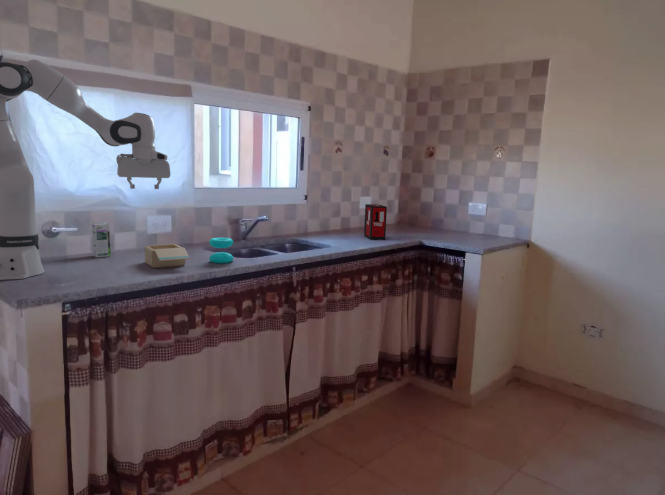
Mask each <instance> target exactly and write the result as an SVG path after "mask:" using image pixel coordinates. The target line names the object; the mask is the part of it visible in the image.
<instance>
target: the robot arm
mask: <svg viewBox="0 0 665 495" xmlns="http://www.w3.org/2000/svg"><path fill="white" fill-rule="evenodd" d="M25 91H26V92H31V93H34V94H36V95H38V96H39V97H41V98H42V99H43V100H44V101H47V103H49V104H51V105H52V106H55V107H56V108H58V109H60V110H62V111H65V112H66V113H68V114H70V115H72V116H74V117H76V118H77V119H78V120H80V121H81V122H83V123H84V124H85V125H87V126H88V127H90V128H91V129H92V130H94V131H95V132H96V133H97V135H98V136H99V137H100V139H101V140H102V141H103V142H104V143H105V144H107V145H108V146H111V147H121V146H125V145H129V144H130V145H131V153H120V154H118V155H117V156H116V164H117V176H118V177H119V178H126V180H127V182H128V184H129V188H130V189H129V190H134V189H135V190H136V186H135V184H133V182H132V178H140V179H141V178H146V179H147V178H149V179H151V178H152V179H156V181H157V182H156V184H154V186H153V187H154V190H159V189H160V185H161V182H162V180H163V179H169V178H170V177H171V166H170V163H169V162H168V155H167V154H164V153H162V152H159V151H156V144H155V140H156V139H155V138H156V128H155V121H154V119H153V118H152V116H151V115H149V114H147V113H142V112H133V113H132V114H131V115H128V116H127V117H124V118H120V119H116V120H112V119H108V118H106V117H104V116H103V115H102V114H100V113H99V112H97V111H96V110H95V109H93V108H92V107H91V106H89V105H88V103H86V101H85V100H84V97H83V92H82V90H81V89H80V88H79V87H78V85H76V83H75V82H73V81H72V80H71V79H70V78H69V77H67V76H66V75H64V74H63V73H61V72H60V71H58V70H56V69H55V68H53V67H52V66H50V65H48V64H46V63H45V62H42V61H40V60H38V59H30V60H27V61H26V62H24V63H23V65H22V64H17V63H12V62H7V61H1V62H0V281H5V280H23V279H26V278H27V279H28V278H31V277H34V276H39V275H41V274H44V273H45V269H44V265H43V262H42V260H41V255H40V250H39V249H40V237H39V234H38V232H37V219H36V218H37V217H36V200H35V198H36V197H35V196H36V194H35V180H34V179H35V178H34V176H33V173H31V171H30V169H29V165H28V163H27V160H26V158H25V155H24V152H23V150H22V147H21V144H20V142H19V139H18V137H17V134H16V132H15V129H14V126H13V124H12V122H11V119H10V116H9V115H8V112H7V108H6V102H8V101H11V100H13V99H16V98H18V97H19V96H21V95H22V93H24V92H25Z"/></svg>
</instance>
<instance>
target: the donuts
mask: <svg viewBox="0 0 665 495" xmlns="http://www.w3.org/2000/svg"><path fill="white" fill-rule="evenodd" d="M208 243H209V245H210V246H211V247H212V248H216V249H226V248H230V247H232V246H233V245H234V240H233V239H232V238H229V237H213V238H211V239H210V240H209V241H208ZM233 260H234V256H233V255H232V254H231V253H229V252H222V251H221V252H220V251H219V252H214V253H212V254H211V255H209V261H210V262H211V263H213V264H229V263H231V262H233Z"/></svg>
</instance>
